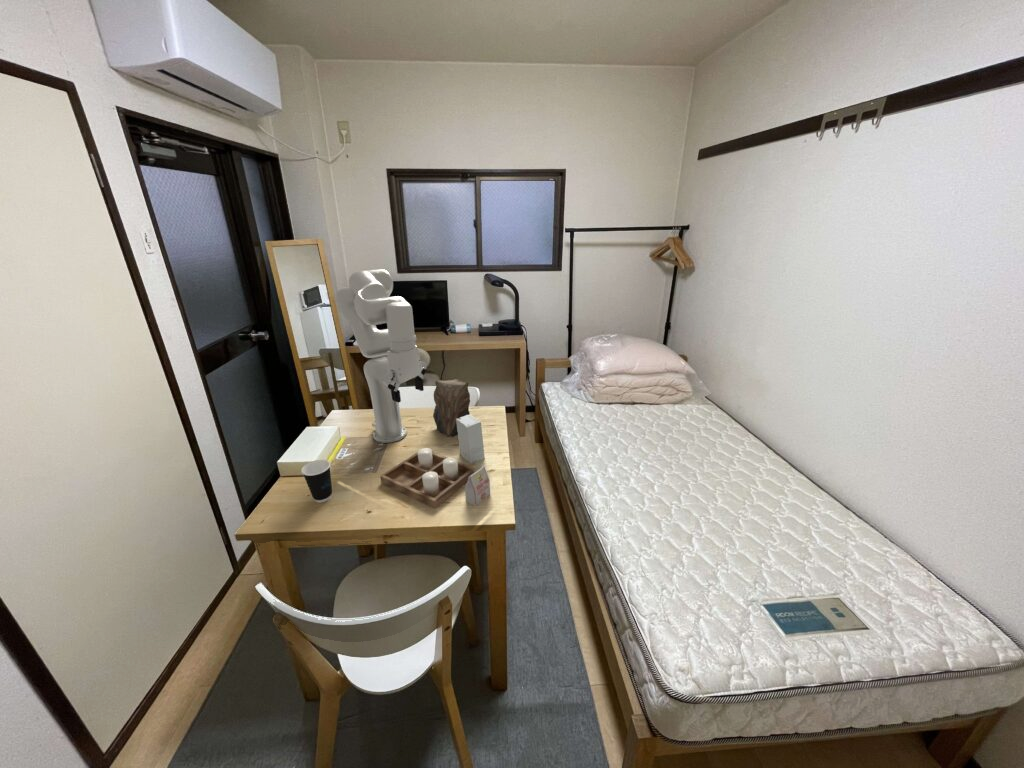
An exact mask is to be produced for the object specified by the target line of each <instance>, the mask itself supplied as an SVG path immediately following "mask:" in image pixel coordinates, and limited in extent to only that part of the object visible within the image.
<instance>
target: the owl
mask: <svg viewBox="0 0 1024 768" xmlns="http://www.w3.org/2000/svg"><path fill="white" fill-rule="evenodd" d="M435 385H436V386H435V389H434V391H433V401H434V403H435V406H434V410H433V415H432V418H433V420H434V423H435V425H436V429H437V431H439V433H441V434H443V435H444V436H446V437H447V438H450V437H451V438H454V437H456V436H458V431H457V423H456V419H457V418H460V417H463V416H466V415H469V414H471V413H470V410H469V407H470V403H471V400H470V399H471V394H470V393H471V392H469V382H468V381H465V382H464V381H462V380H460V379H457V378H454V379H448V380H443V379H441V380H435Z"/></svg>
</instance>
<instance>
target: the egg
mask: <svg viewBox="0 0 1024 768" xmlns="http://www.w3.org/2000/svg"><path fill="white" fill-rule="evenodd" d="M422 480H423V488H424V494H427V495H429V496H431V497H435V496H437V495H438V494H439V492H440V491H439V481H438V474H437V473H436V472H427V473H425V474H423V476H422Z"/></svg>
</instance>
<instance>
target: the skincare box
mask: <svg viewBox="0 0 1024 768" xmlns="http://www.w3.org/2000/svg"><path fill="white" fill-rule="evenodd" d="M456 423H457V431H458V435H457V437H458V446H459V455H461V456H462V457H463V459H465V460H466V461H467V462H468V463H469V464H473V463H476V462H480V461H482V460H484V459H485V457H486V456H485V450H484V441H483V440H484V438H483V437H484V436H483V431H482V429H483V428H482V421H480V420H479V419H478V418H477V417H475V416H473V415H472V414H471V413H470V414H469V415H466V416H463V417H460V418H457V419H456Z"/></svg>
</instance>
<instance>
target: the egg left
mask: <svg viewBox="0 0 1024 768" xmlns="http://www.w3.org/2000/svg"><path fill="white" fill-rule="evenodd" d="M417 452H418V460H419V467H420V468H423V469H425V470H427V471H429V470H430V469H431V468H433V458H432V452H433V450H432V449H431V448H429V447H423V448H420V449H419V450H418V451H417Z"/></svg>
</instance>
